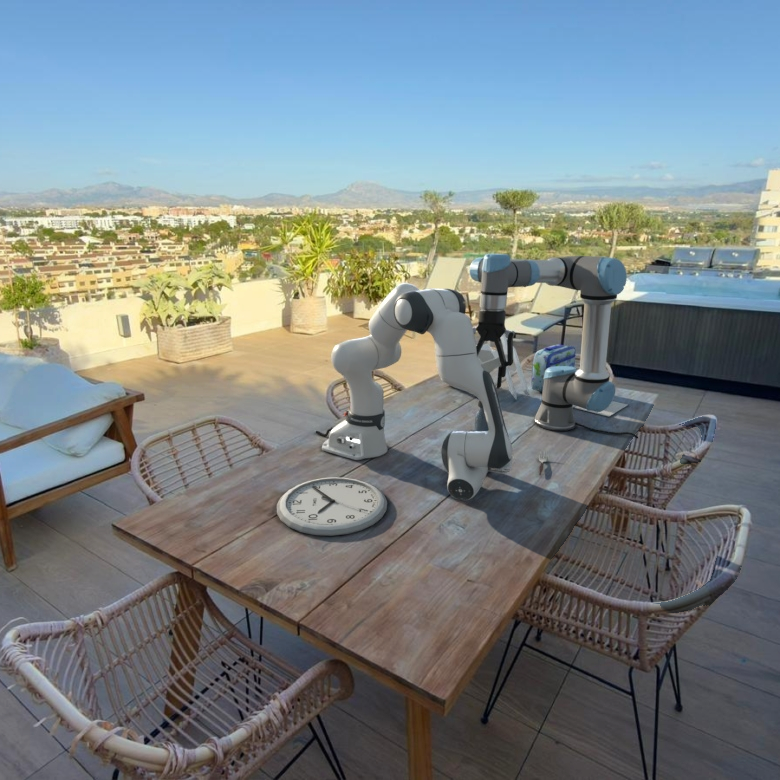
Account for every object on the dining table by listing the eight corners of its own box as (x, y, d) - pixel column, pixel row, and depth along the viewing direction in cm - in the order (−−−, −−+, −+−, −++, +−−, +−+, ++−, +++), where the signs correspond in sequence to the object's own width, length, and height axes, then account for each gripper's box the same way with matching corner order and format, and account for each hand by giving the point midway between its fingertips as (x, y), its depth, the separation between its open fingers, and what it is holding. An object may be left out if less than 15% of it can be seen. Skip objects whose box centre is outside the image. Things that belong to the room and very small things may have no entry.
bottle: (475, 474, 162) (480, 404, 156) (469, 466, 168) (474, 398, 161) (492, 472, 164) (498, 403, 157) (485, 465, 169) (490, 397, 162)
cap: (481, 409, 157) (481, 402, 156) (475, 404, 161) (476, 397, 160) (495, 408, 158) (495, 401, 157) (489, 403, 162) (490, 396, 161)
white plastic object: (461, 429, 252) (437, 405, 227) (444, 352, 274) (420, 323, 250) (535, 404, 240) (518, 377, 215) (510, 326, 262) (492, 293, 237)
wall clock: (392, 527, 129) (268, 531, 127) (391, 533, 130) (269, 537, 127) (383, 473, 158) (282, 475, 155) (383, 478, 158) (282, 480, 156)
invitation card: (608, 416, 214) (573, 407, 224) (608, 416, 214) (573, 408, 224) (628, 404, 229) (594, 396, 238) (628, 405, 229) (594, 397, 238)
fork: (535, 475, 162) (535, 469, 161) (539, 455, 176) (540, 450, 175) (543, 477, 161) (544, 471, 160) (547, 456, 175) (548, 451, 175)
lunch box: (547, 397, 237) (552, 352, 231) (526, 391, 245) (531, 348, 238) (574, 386, 255) (580, 344, 249) (554, 381, 262) (559, 340, 256)
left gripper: (510, 462, 148) (517, 444, 160) (440, 450, 154) (452, 434, 167) (508, 482, 150) (515, 463, 162) (439, 470, 156) (450, 452, 169)
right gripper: (529, 310, 150) (521, 386, 157) (462, 305, 157) (458, 378, 164) (525, 313, 144) (517, 393, 150) (455, 308, 151) (451, 384, 158)
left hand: (482, 448), depth 164 cm, fingers closed on bottle, 5 cm apart
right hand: (486, 385), depth 157 cm, fingers open, 7 cm apart
